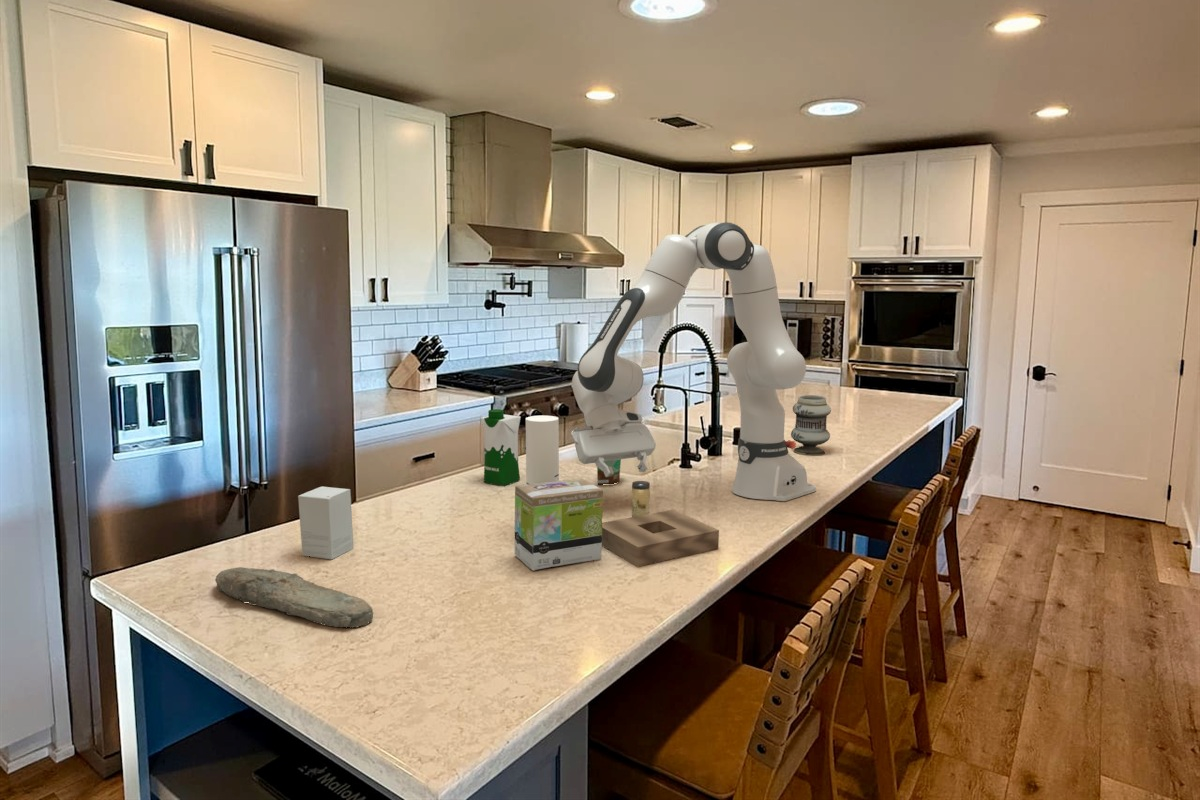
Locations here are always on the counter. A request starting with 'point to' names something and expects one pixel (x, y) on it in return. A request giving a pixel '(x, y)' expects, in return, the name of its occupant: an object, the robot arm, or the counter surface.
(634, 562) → the socket block
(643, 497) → the spice jar
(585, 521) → the tea box
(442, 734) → the counter surface
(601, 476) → the food container
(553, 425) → the cylindrical container
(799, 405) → the apothecary jar
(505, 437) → the milk carton
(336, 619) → the elongated rock
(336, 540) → the supplement box
